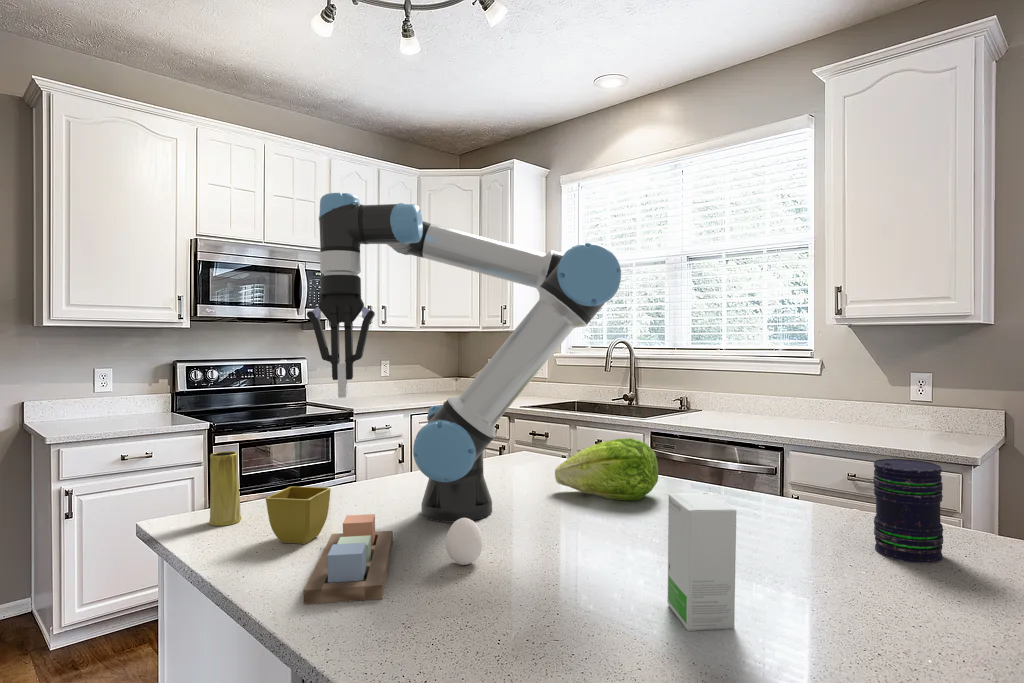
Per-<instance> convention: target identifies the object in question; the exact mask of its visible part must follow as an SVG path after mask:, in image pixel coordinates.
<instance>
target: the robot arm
mask: <svg viewBox="0 0 1024 683" xmlns="http://www.w3.org/2000/svg"><path fill="white" fill-rule="evenodd" d="M421 211H422V210H421V208H420V206H418V205H417V204H414V203H413V204H411V203H409V204H408V203H403V202H402V203H401V202H399V203H391V204H389V203H388V204H385V203H384V204H361V203H360V199H359V196H357V195H355V194H352V193H347V192H346V193H344V192H343V193H342V192H330V193H326V194H323V195H322V196H321V198H320V199H319V214H318V215H319V216H318V221H319V244H320V245H319V246H320V247H319V248H320V249H319V250H320V251H319V252H320V253H319V260H320V262H319V263H320V264H319V266H320V269H319V270H320V273H321V274H323V275H322V276H321V277H320V300H319V301H318V304H317V305H318V306H317V307H315V308H314V309H312V310H309V311H307V312H306V316H307V317H308V319H309V321H310V323H312V327H313V330H314V334H315V338H316V341H317V342H316V343H317V346H318V349H319V350H318V351H319V353H320V356H321V359H322V360H323V361H327V362H329V363H330V364H331V378H332V381H337V399H338V398H339V399H341V398H345V399H346V398H347V397H349V386H348V382H349V380H350V381H351V380H353V378H354V362H356V361H358V360H361V359H362V358H363V355H364V351H365V347H366V343H367V338H368V334H369V331H370V330H369V329H370V326H371V322H372V321H373V319H374V317H375V316H376V313H375V311H374V310H371V309H369V308H368V307H366V306H365V303H364V302H363V300H362V279H361V276H359V275H360V273H361V272H362V271H361V245H387V246H389V247H390V248H392V250H394V251H395V252H396V253H399V254H402V255H404V256H408V255H409V256H414V257H418V258H422V259H426V260H430V261H434V262H437V263H442V264H444V265H449V266H452V267H455V268H460V269H464V270H468V271H472V272H475V273H478V274H483V275H485V276H489V277H492V278H493V277H494V278H497V279H502V280H505V281H508V282H513V283H516V284H519V285H520V284H521V285H523V286H526V287H531V288H534V289H536V291H537V292H538V294H539V295H538V296H539V299H538V301H537V302H536V303H535V304H534V306H533V307H532V308H531V309H530V311H529V312H528V313H527V314H526V315H525V316H524V318H522V320H521V321H520V323H519V324H518V325H517V326H516V328H515V329H514V330H513V331H512V332H511V334H510V335H509V336H508V338H506V340H505V341H504V342H503V344H502V345H501V346H500V347H499V349H497V350H496V351H495V353H494V355H493V356H492V357H491V358H490V359H489V360H488V362H487V363H486V364H485V366H484V367H483V368H482V369H481V370H480V371H479V373H478V374H477V375H476V377H474V379H473V380H472V381H471V383H470V384H469V385H468V386H467V387H466V389H465V390H464V391H463V392H462V393H461V395H459V396H451V397H448V398H447V399H446V401H445V402H444V403H443V404H442V405H431V406H430V407H429V408H428V410H427V416H426V419H427V421H428V422H427V424H425V425H424V426H422V427H421V429H419V431H418V432H417V433H416V436H415V439H414V442H413V445H412V446H413V448H412V449H413V450H412V453H413V455H412V456H413V459H414V461H415V465H416V466H417V468H418V469H419V471H420V472H421V473H422V475H424V476H425V477H427V478H428V481H427V484H426V488H425V490H424V494H423V497H422V501H421V507H420V508H421V509H420V510H421V515H422V516H421V517H423V518H424V519H428V520H430V521H435V522H443V523H454V522H455V521H457V520H458V519H460V518H468V519H470V520H472V521H475V520H480V519H483V518H486V517H488V516H490V515H491V514H492V513H493V500H492V497H491V494H490V491H489V488H488V485H487V482H486V479H485V476H484V474H485V473H484V451H485V449H486V448H487V447H488V446H489V445H490V443H492V441H493V440H494V438H495V437H496V427H495V426H496V424H497V422H498V421H499V420H500V419H501V418H502V417H503V415H504V414H505V413H506V411H508V409H509V408H510V407H511V405H512V404H513V403H514V402H515V400H516V399H517V398H518V397H519V395H521V394H522V393H523V391H524V390H525V389H526V387H527V386H528V385H529V384H530V382H531V381H532V380H533V379H534V378H535V377H536V375H537V374H538V373H539V371H540V370H541V369H542V368H543V367H544V365H545V364H546V363H547V362H548V361H549V360H550V358H551V357H552V356H553V354H554V353H555V352H556V351H557V350H558V348H559V347H560V346H561V345H562V344H563V342H564V341H565V340H566V338H567V337H568V336H569V335H570V334H571V333H572V331H573V330H574V329H576V328H584V327H587V326H588V324H589V323H590V322H591V321H592V319H594V317H595V316H596V314H598V312H599V311H600V310H601V309H602V308H603V306H604V305H605V304H606V302H607V303H608V301H610V300H611V299H613V297H615V295H616V294H617V292H618V290H619V289H620V284H621V281H622V269H621V265H620V263H619V260H618V258H617V257H616V256H615V254H614V253H613V252H612V251H611V250H610V249H608V248H607V247H605V246H604V245H601V244H600V243H599V244H598V243H596V242H595V243H594V242H584V243H579V244H576V245H574V246H572V247H571V248H569V249H567V250H566V252H559V251H556V250H550V251H548V252H546V253H545V252H540V251H537V250H533V249H529V248H525V247H521V246H518V245H515V244H510V243H506V242H503V241H498V240H495V239H491V238H487V237H484V236H480V235H476V234H474V233H473V234H471V233H468V232H465V231H461V230H457V229H453V228H450V227H446V226H442V225H439V224H434V223H429V222H427V221H423V215H422V212H421ZM322 314H323V315H324V317H325V318H326V319H327V321H328V322H329V324H330V351H329V348H328V344H327V340H326V336H325V332H324V330H323V329H324V328H323V326H322V325H323V324H322V321H321V319H322ZM360 314H361V318H362V319H363V320H362V323H361V328H360V331H359V336H358V340H357V345H356V350H355V353H354V343H353V342H354V340H353V339H354V338H353V337H354V336H353V335H354V334H353V332H354V331H353V330H354V329H353V328H354V326H353V324H354V323H353V322H354V321H355V320H356V319H357V318H358V316H359V315H360ZM340 323H343V328H344V362H343V363H342V362H341V359H340ZM330 353H331V354H330Z"/></svg>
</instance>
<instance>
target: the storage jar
mask: <svg viewBox="0 0 1024 683" xmlns="http://www.w3.org/2000/svg"><path fill="white" fill-rule="evenodd" d="M873 468H874V470H873V489H872V490H873V494H874V495H875V515H874V518H873V519H874V520H873V524H874V526H873V535H874V541H875V546H874V549H875V551H876V553H877V554H879V555H881V556H883V557H886V558H888V559H893V560H895V561H899V562H903V563H911V564H912V563H913V564H926V565H927V564H936V563H939V562H942V560H943V559H944V558H943V556H944V555H943V553H942V551H943V544H944V534H943V533H944V528H943V524H942V523H941V503H942V501H943V497H944V496H943V487H944V486H943V482H942V477H943V476H942V475H941V474H942V466H941V465H939V464H936V463H933V462H928V461H924V460H915V459H903V458H882V459H877V460H874V461H873Z"/></svg>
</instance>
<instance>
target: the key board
mask: <svg viewBox="0 0 1024 683" xmlns="http://www.w3.org/2000/svg"><path fill="white" fill-rule="evenodd" d="M340 537H343V532H341V533H340V532H339V533H332V534H331V535H330V537H329V539H328V540H327V542H326V545H325V547H324V548H323V551H322V553H321V554H320V557H319V558H318V561H317V563H316V564H315V567H313V568H314V569H313V571H312V572H311V575H310V576H309V578H308V580H307V582H306V584H305V586H304V588H303V590H302V594H303V605H310V604H311V605H312V604H327V603H329V604H330V603H339V602H355V601H356V602H357V601H372V600H383V599H384V592H385V588H386V582H387V577H388V571H389V566H390V560H391V554H392V550H393V546H394V530H379V531H378V530H377V531H376V530H375V539H374V543H373V545H371V562H366V571H365V575H364V578H363V580H362V581H347V582H331V583H328V557H327V555H328V553H329V551H330V549H331V547H332V545H333V544H337V543H338V541H339V539H340Z"/></svg>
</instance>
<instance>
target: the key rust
mask: <svg viewBox="0 0 1024 683" xmlns="http://www.w3.org/2000/svg"><path fill="white" fill-rule="evenodd" d="M375 531H376V513H369V514H353V515H352V514H351V515H348V514H347V515H346V516H345V518H344V520H343V522H342V533H343V537H351V536H369V535H371V545H373V543H374V539H375Z"/></svg>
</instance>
